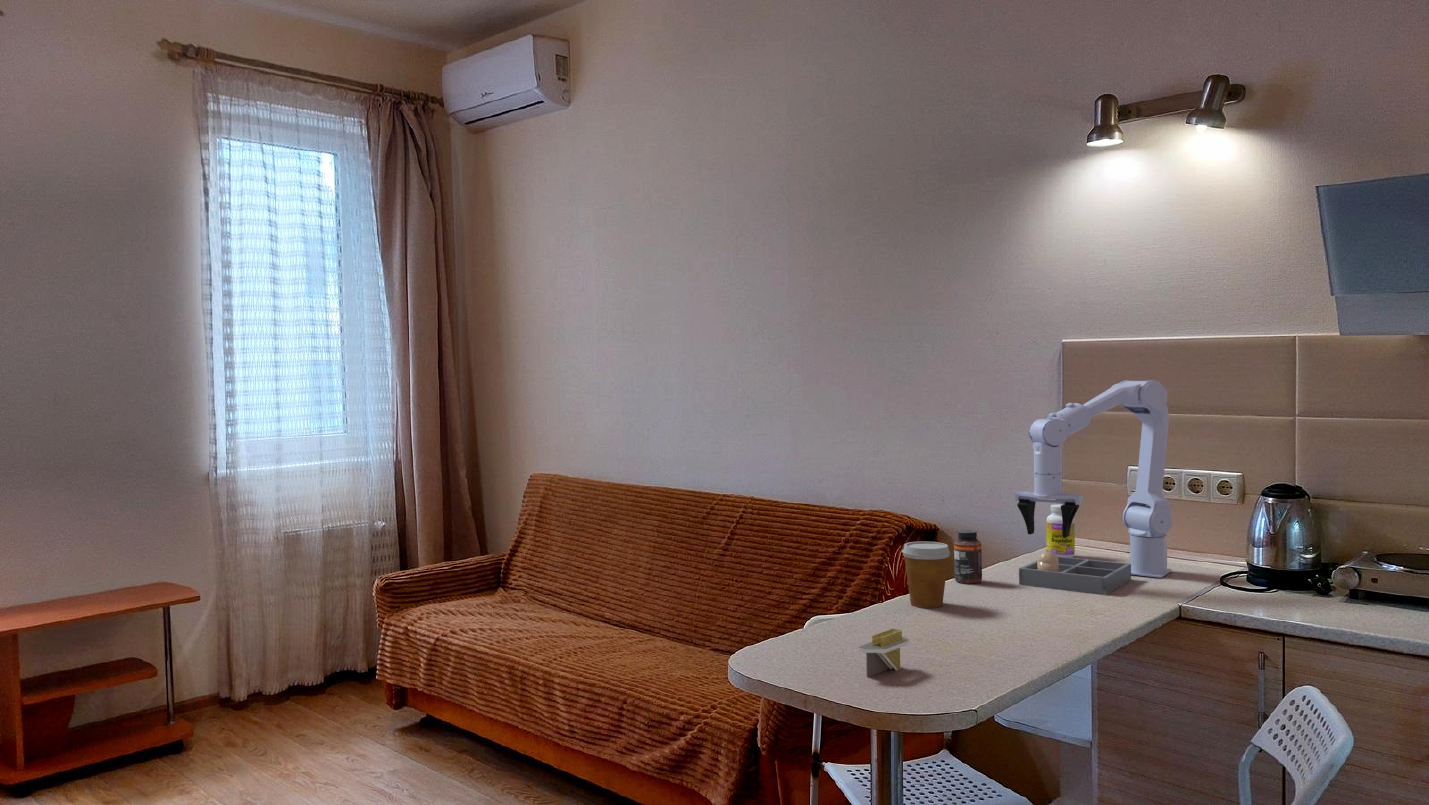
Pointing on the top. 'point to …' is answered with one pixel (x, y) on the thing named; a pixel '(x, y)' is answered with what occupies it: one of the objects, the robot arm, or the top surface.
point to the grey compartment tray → (1078, 575)
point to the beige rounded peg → (1048, 562)
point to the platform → (884, 651)
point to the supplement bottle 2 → (1059, 534)
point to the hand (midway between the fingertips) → (1048, 535)
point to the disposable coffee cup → (926, 572)
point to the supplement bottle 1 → (968, 557)
